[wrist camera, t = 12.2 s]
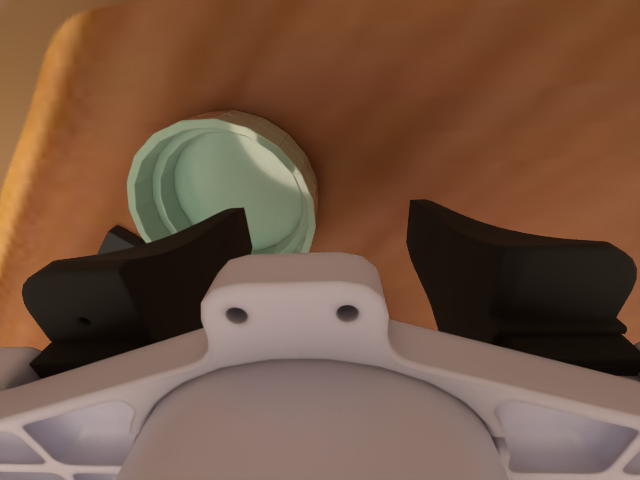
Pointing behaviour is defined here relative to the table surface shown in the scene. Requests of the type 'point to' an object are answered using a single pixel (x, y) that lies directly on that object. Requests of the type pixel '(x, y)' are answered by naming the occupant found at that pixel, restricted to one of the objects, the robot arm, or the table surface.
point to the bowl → (225, 180)
